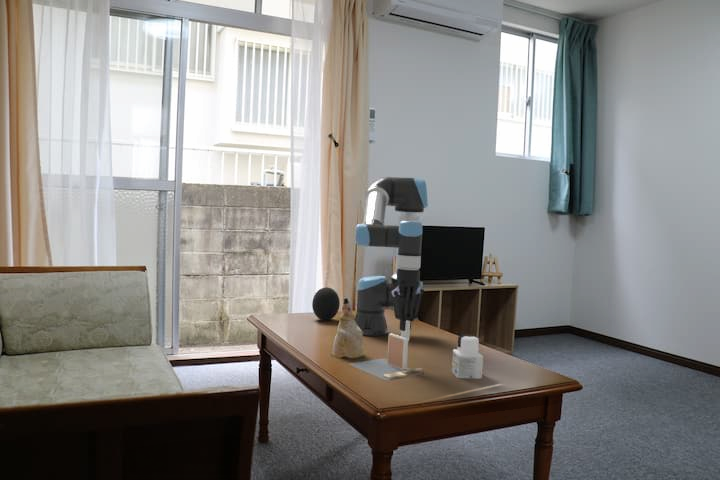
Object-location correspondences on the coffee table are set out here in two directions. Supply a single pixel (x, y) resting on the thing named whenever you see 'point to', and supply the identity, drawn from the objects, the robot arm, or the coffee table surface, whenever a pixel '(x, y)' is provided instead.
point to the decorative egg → (325, 303)
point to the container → (467, 358)
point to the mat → (379, 368)
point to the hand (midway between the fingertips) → (404, 340)
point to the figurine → (348, 335)
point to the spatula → (403, 373)
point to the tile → (397, 351)
